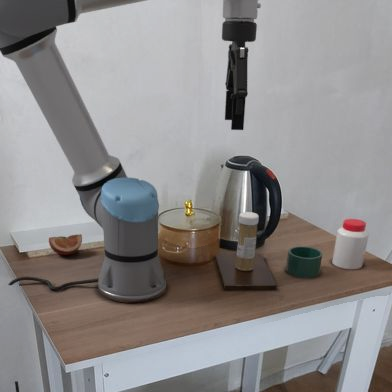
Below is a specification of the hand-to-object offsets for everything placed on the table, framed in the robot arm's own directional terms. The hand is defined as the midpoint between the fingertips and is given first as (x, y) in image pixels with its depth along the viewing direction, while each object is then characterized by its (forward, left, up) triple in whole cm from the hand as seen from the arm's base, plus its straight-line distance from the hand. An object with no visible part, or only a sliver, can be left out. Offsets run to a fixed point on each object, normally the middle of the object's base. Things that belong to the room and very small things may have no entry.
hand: (233, 124), depth 132 cm
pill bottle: (+31, -8, -32) cm, 45 cm away
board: (+3, -14, -32) cm, 35 cm away
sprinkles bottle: (+3, -14, -31) cm, 34 cm away
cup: (+18, -13, -32) cm, 39 cm away
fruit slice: (-41, -2, -32) cm, 52 cm away
